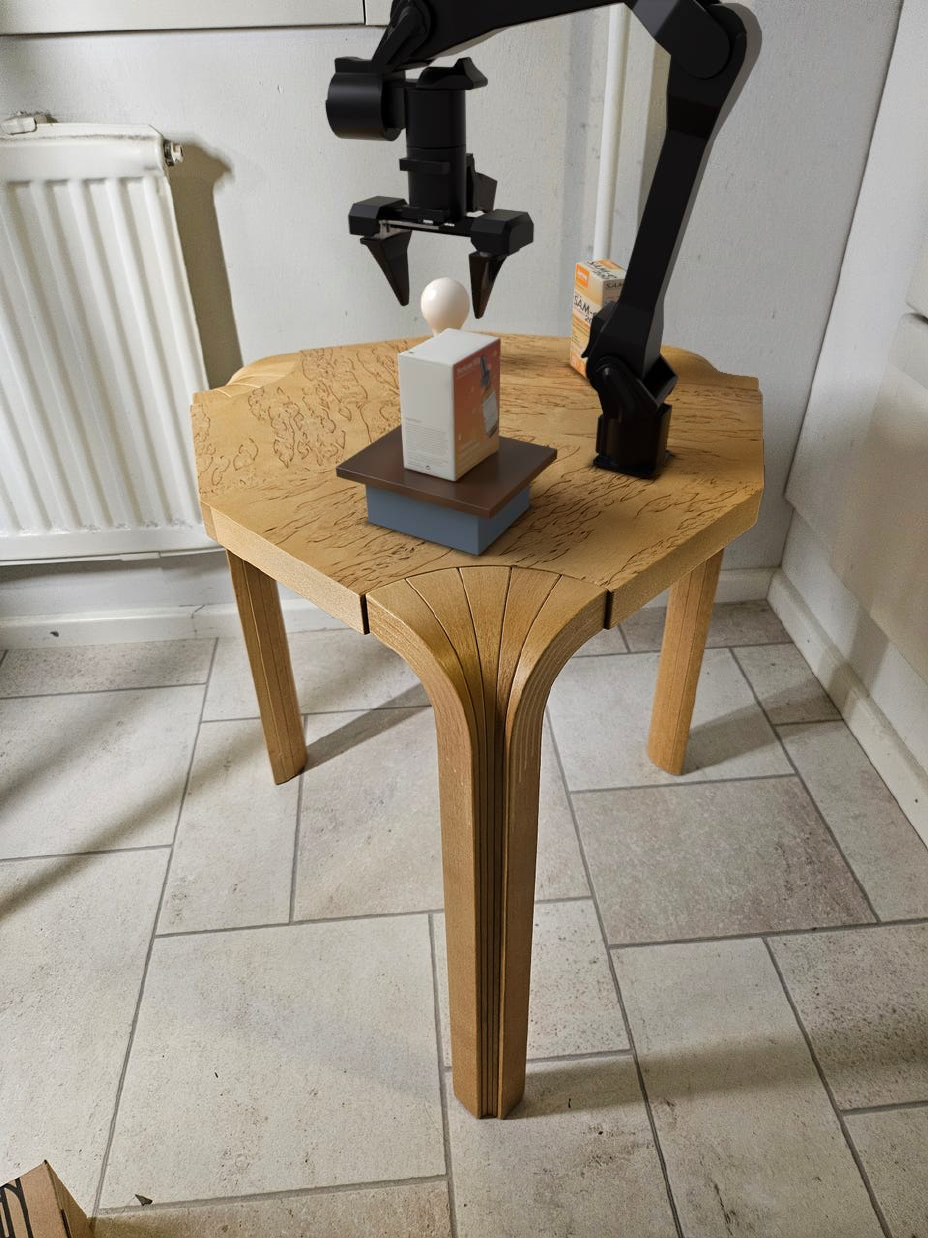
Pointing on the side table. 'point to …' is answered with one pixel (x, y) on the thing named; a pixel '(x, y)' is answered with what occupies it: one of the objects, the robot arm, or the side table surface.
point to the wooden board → (470, 493)
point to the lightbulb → (445, 304)
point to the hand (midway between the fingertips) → (441, 311)
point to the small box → (450, 402)
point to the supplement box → (591, 302)
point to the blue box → (441, 519)
